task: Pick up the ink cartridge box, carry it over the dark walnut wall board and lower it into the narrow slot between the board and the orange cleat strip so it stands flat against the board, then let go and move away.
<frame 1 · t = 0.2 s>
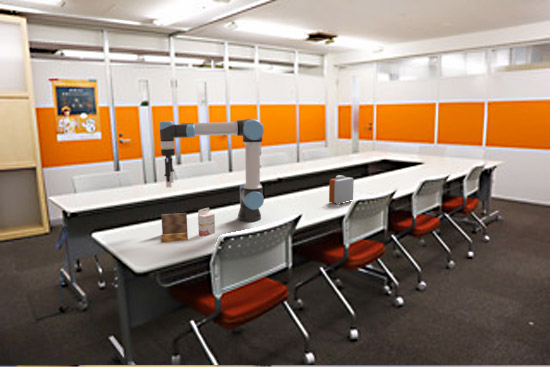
hand: (170, 185, 227), 28 cm above the table, tool pointing down, fingers open, 13 cm apart
grey and orange case: (341, 202, 298), on the table
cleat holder: (174, 237, 220), on the table
ink cartridge box: (207, 234, 226), on the table
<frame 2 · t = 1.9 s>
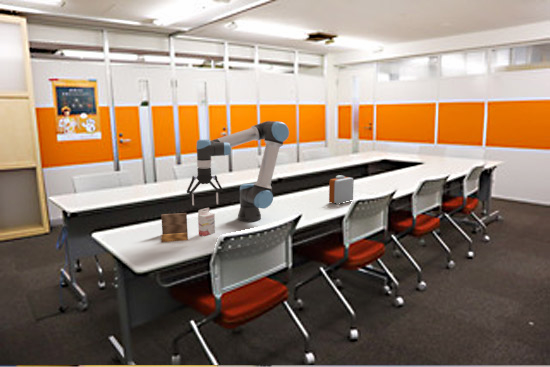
hand: (205, 204, 223), 18 cm above the table, tool pointing down, fingers open, 13 cm apart
nothing on the table moved.
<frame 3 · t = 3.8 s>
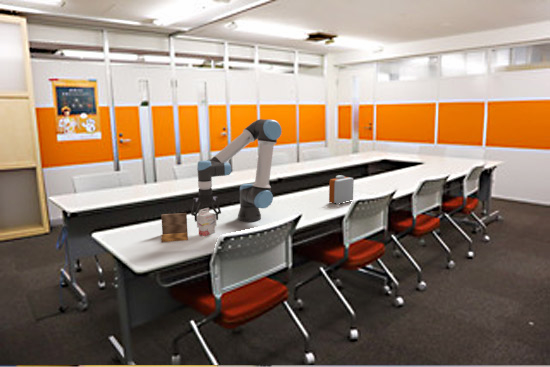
hand: (206, 226, 225), 5 cm above the table, tool pointing down, fingers closed on ink cartridge box, 9 cm apart
ink cartridge box: (207, 234, 226), on the table, touching gripper
everything else where it was.
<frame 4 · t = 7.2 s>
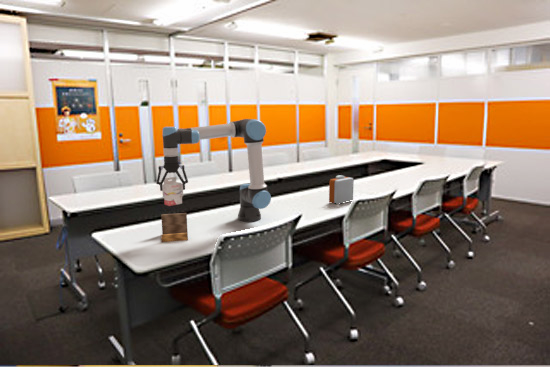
hand: (173, 196, 216), 24 cm above the table, tool pointing down, fingers closed on ink cartridge box, 9 cm apart
ink cartridge box: (173, 204, 217), point 19 cm above the table, touching gripper
everything else where it was.
when the fingers open (7 cm above the table, at t = 10.4 s): ink cartridge box drops 1 cm, resting on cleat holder.
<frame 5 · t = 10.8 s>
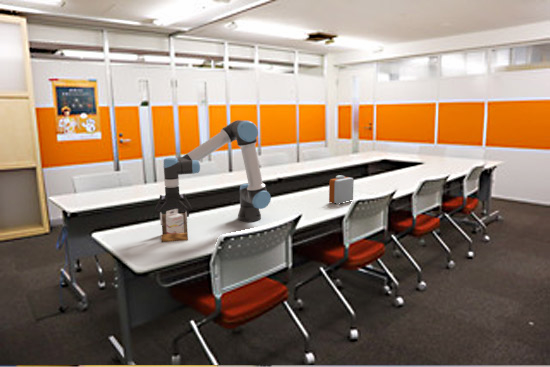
hand: (174, 223, 219), 8 cm above the table, tool pointing down, fingers open, 13 cm apart
ink cartridge box: (175, 236, 220), point 1 cm above the table, touching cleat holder
everything else where it was.
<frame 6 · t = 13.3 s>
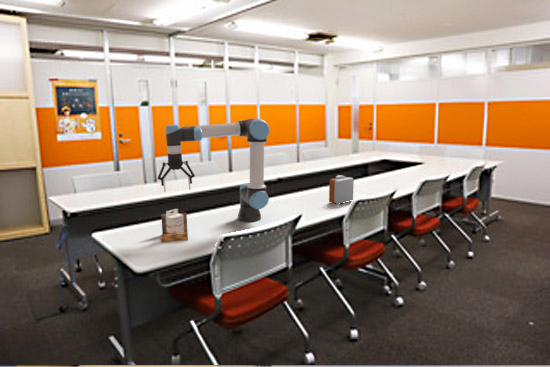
hand: (177, 190, 221), 26 cm above the table, tool pointing down, fingers open, 13 cm apart
nothing on the table moved.
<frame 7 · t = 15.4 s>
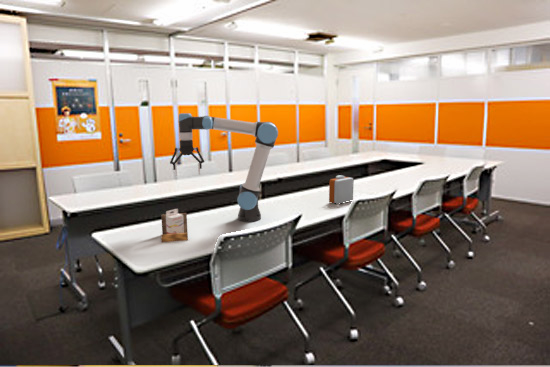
hand: (187, 174, 237), 32 cm above the table, tool pointing down, fingers open, 13 cm apart
nothing on the table moved.
at the end: ink cartridge box inside the target area on the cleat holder (0.4 cm from its centre), point 0.8 cm above the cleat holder's base; ink cartridge box tilted 0°; the gripper is holding nothing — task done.
